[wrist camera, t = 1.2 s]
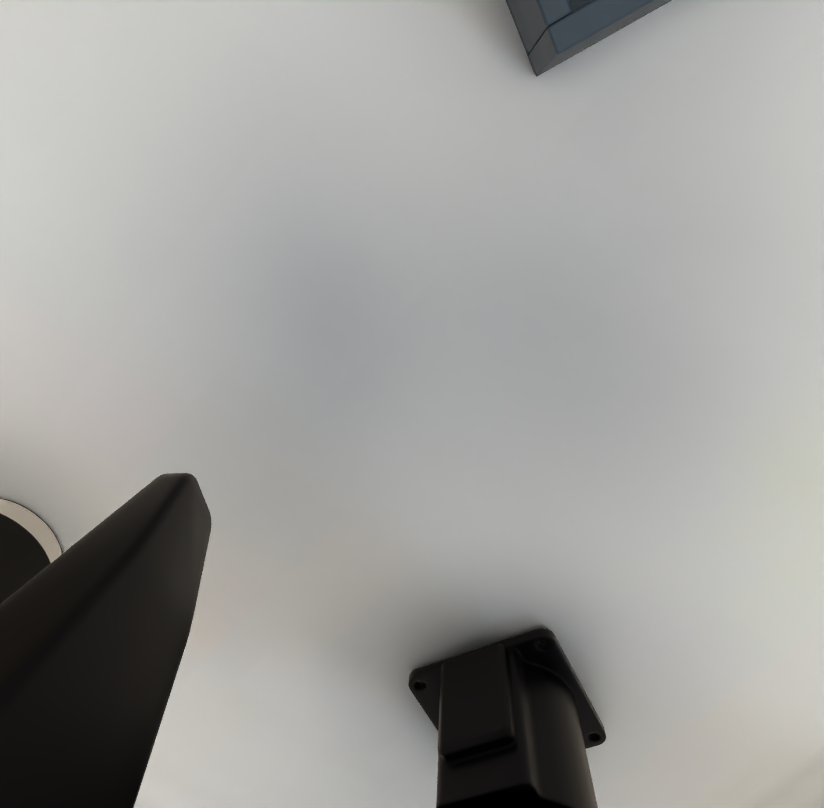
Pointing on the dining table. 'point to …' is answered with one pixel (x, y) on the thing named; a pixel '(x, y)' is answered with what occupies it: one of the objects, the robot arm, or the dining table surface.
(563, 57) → the tub
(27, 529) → the dixie cup
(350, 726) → the dining table surface
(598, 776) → the dining table surface
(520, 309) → the dining table surface
